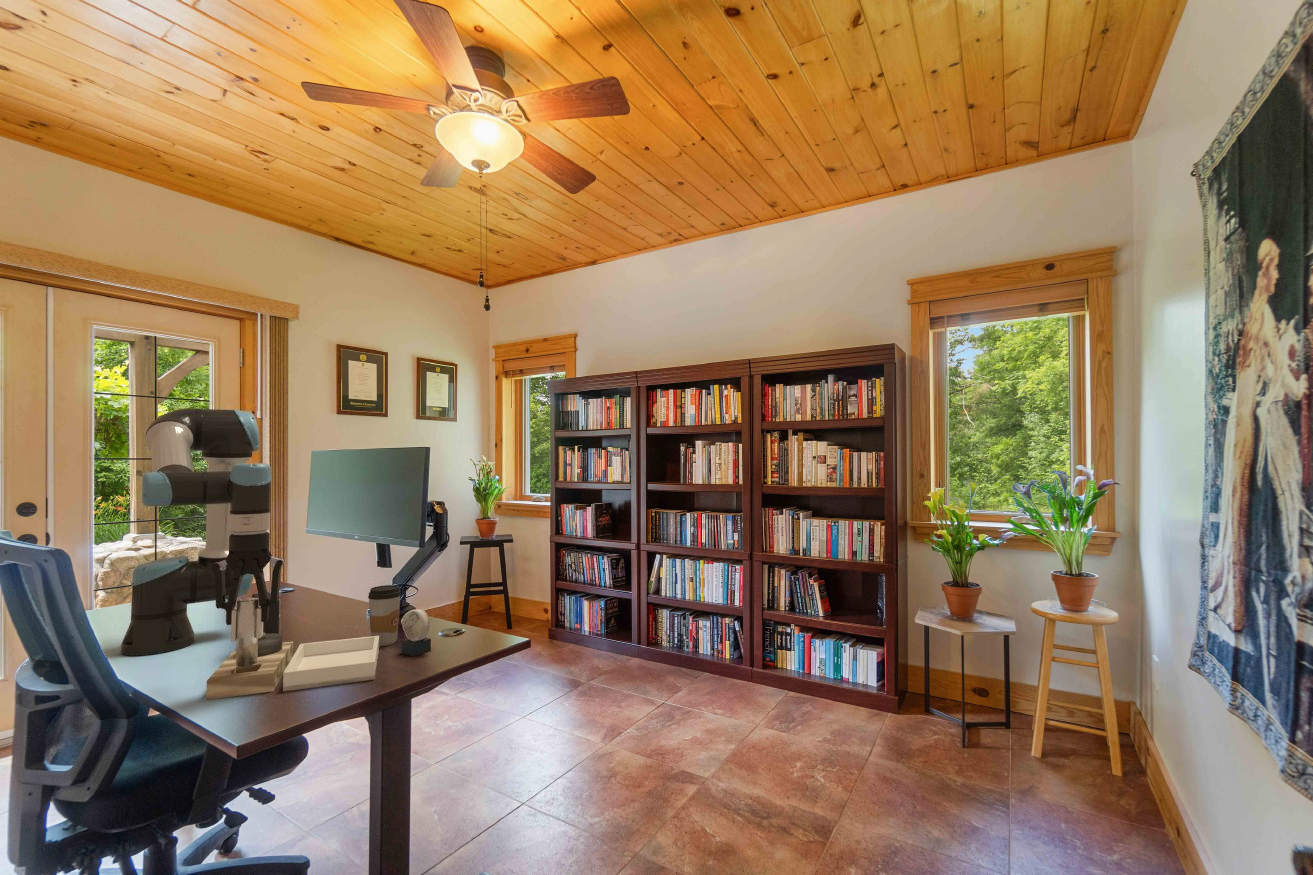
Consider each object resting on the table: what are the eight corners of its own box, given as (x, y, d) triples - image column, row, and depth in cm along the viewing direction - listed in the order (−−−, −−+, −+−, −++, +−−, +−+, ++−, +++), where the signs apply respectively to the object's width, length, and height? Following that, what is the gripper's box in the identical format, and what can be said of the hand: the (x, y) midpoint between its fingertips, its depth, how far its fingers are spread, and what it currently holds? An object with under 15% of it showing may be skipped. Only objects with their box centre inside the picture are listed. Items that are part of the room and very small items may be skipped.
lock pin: (238, 661, 133) (239, 598, 133) (259, 659, 134) (260, 597, 135) (233, 667, 129) (235, 602, 129) (255, 665, 131) (256, 601, 131)
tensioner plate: (236, 663, 146) (237, 630, 147) (293, 657, 151) (293, 624, 151) (206, 699, 124) (207, 660, 125) (273, 691, 129) (274, 652, 129)
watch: (415, 646, 159) (415, 605, 160) (435, 651, 155) (435, 609, 156) (396, 652, 155) (397, 610, 155) (416, 657, 150) (417, 614, 151)
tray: (300, 659, 149) (300, 643, 149) (379, 650, 156) (379, 635, 156) (283, 691, 129) (283, 672, 129) (374, 679, 136) (374, 661, 136)
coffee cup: (387, 648, 158) (388, 591, 159) (360, 646, 160) (361, 590, 160) (407, 639, 166) (407, 585, 167) (380, 637, 168) (381, 584, 168)
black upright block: (281, 656, 152) (283, 597, 152) (262, 660, 149) (263, 600, 149) (269, 647, 159) (270, 591, 160) (250, 651, 156) (252, 593, 157)
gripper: (197, 536, 126) (194, 647, 125) (290, 532, 132) (288, 638, 132) (208, 531, 133) (206, 637, 132) (296, 528, 139) (294, 628, 139)
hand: (247, 637), depth 132 cm, fingers closed on lock pin, 4 cm apart
